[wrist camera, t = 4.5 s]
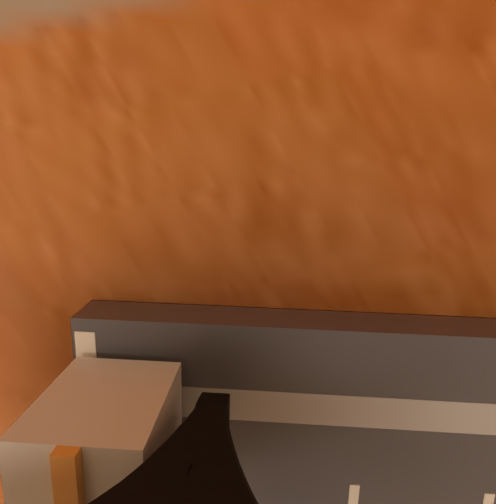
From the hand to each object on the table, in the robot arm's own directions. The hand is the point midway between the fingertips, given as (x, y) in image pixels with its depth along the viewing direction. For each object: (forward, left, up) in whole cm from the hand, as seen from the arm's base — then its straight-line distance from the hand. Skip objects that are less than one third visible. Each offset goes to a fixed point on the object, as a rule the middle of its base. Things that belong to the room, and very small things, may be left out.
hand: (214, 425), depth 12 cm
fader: (+3, 0, -1) cm, 3 cm away
